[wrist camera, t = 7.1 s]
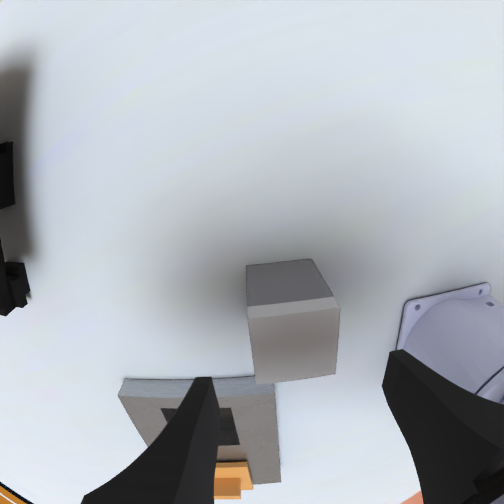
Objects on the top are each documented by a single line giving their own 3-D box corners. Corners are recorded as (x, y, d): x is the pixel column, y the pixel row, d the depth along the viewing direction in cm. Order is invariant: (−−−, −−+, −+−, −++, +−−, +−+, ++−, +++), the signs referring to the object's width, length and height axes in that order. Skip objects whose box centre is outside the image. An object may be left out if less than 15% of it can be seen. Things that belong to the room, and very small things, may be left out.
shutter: (246, 461, 22) (247, 486, 19) (253, 485, 24) (253, 505, 21) (183, 462, 22) (180, 485, 19) (198, 485, 24) (196, 505, 21)
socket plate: (272, 374, 21) (274, 392, 19) (279, 468, 26) (281, 482, 24) (124, 378, 21) (117, 395, 19) (175, 470, 26) (173, 483, 24)
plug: (311, 258, 18) (340, 307, 12) (312, 314, 19) (335, 374, 13) (246, 265, 18) (247, 318, 12) (252, 321, 19) (256, 384, 14)
